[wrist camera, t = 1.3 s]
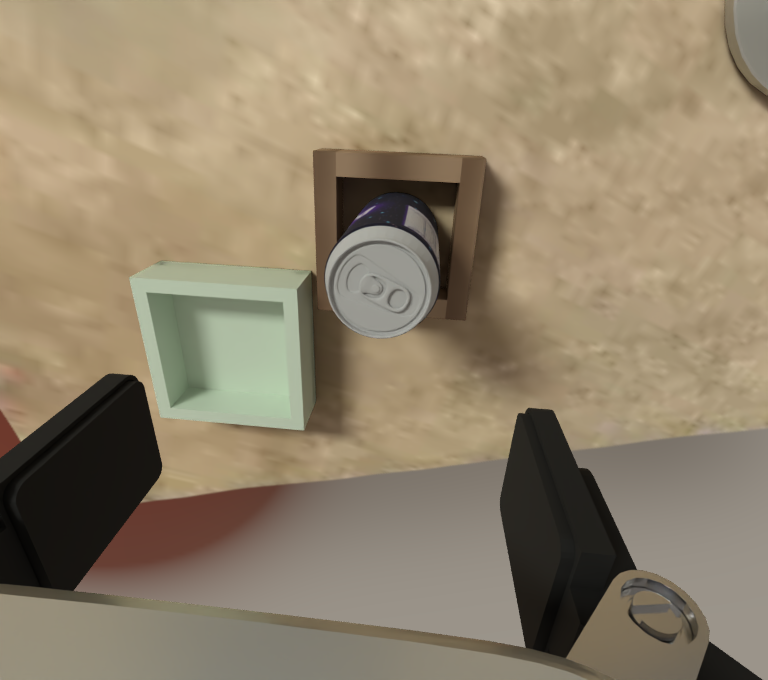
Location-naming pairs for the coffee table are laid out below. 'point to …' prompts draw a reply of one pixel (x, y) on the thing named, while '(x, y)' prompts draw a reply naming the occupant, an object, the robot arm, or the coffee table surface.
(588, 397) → the coffee table surface
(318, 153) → the socket block
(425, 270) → the beverage can
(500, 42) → the coffee table surface
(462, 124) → the coffee table surface
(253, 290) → the tray
